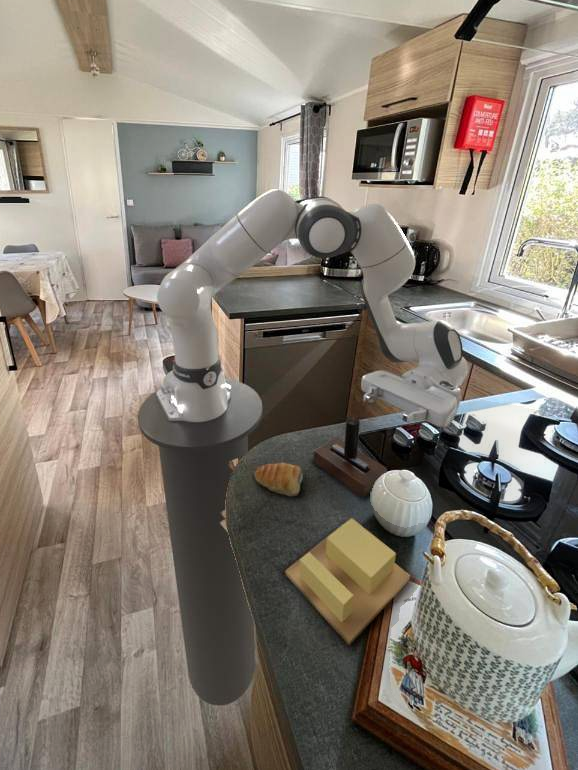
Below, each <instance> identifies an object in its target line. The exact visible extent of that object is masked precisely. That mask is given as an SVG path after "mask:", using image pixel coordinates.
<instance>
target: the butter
mask: <svg viewBox="0 0 578 770" xmlns="http://www.w3.org/2000/svg"><path fill="white" fill-rule="evenodd" d="M344 523H345V524H344ZM344 523H343V524H344V525H342V524H341V525H342V526H341V525H340V526H341V527H340V526H339V527H340V528H339V527H338V528H339V529H338V528H336V529H337V530H336V529H335V530H336V531H335V530H334V531H335V532H334V531H333V532H334V533H333V532H332V533H333V534H331V533H330V534H331V535H330V534H329V535H330V536H329V535H328V536H329V537H328V536H327V537H328V538H327V545H326V555H327V556H328V557H329V558H330V559H331V560H332V561H334V562H335V563H336V564H337V565H338V566H339V567H340V568H341V569H342V570H343V571H344V572H345V573H346V574H347V575H348V576H349V577H350V578H352V579H353V580H354V581H355V582H356V583H357V584H358V585H359V586H360V587H361V588H362V589H363V590H364V591H365V592H366V593H367V594H368V595H370V594H371V593H372V592H373V591H374V590H375V589H376V588H377V587H378V585H379V584H380V583H381V582H382V581H383V580H384V579H385V578H386V577H387V576H388V575H389V574H390V573H391V572H392V571H393V570H394V564H395V562H396V556H397V552H395V551H394V550H393V549H392V548H390V547H389V546H388V545H386V544H385V543H384V542H382V541H381V540H380V539H379V538H377V536H375V535H374V534H373V533H372V532H370V531H369V530H368V529H366V528H365V527H363V526H362V525H361V524H360V523H358V521H356V520H355V519H354V518H352V517H351V518H349V520H347V521H346V522H344Z"/></svg>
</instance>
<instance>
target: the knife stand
mask: <svg viewBox="0 0 578 770" xmlns="http://www.w3.org/2000/svg"><path fill="white" fill-rule="evenodd" d="M335 444H337V445H339V446H340V447H342V448H343V449H344V445H345V440H343V439H341V438H340V437H338V436H336V437H334V438H333V439H331V440H330V441H328V442H326V443H324V444H323V445H322V446H320V447H318V448H316V449H315V450H314V451H313V463H314V464H315V465H317V466H318V467H319V468H321V469H322V470H324V471H325V472H327V474H329V475H331V476H332V477H333V478H335V479H336V480H338V482H340V483H342V485H344V486H346V487H347V488H348V489H350V490H351V491H353V492H355V494H356V495H358V496H359V497H361V498H362V499H364V498H365V497H366V496H367V495H369V494H370V493H371V492H372V491H373V490H372V488H373V485H374V483H375V481H376V480H377V479H378V478H379V477H380V476H381V475H382V474H384V473H386V472H387V473H388V468H387V467H386V466H385V465H383V464H382V463H379V462H378V461H376V460H375V459H373V458H372V457H370V456H369V455H367V454H365V453H364V452H362V451H360V450H359V449H357V458H359V459H360V460H362V461H364V462H365V463H367V464H368V465H369V466H368V472H367V473H364V472H363V471H361V470H360V469H358V468H357V467H355V466H354V465H352V464H351V463H349V462H348V461H346V460H344V459H343V458H341V457H340V456H338V455H337V454H335V453H334V452H333V446H334V445H335ZM387 473H386V474H387Z"/></svg>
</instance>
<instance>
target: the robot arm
mask: <svg viewBox="0 0 578 770" xmlns="http://www.w3.org/2000/svg"><path fill="white" fill-rule="evenodd" d="M290 240H298V241H299V244H300V246H301V248H302V249H303V250H304V251H305V252H306V253H307V254H308V255H310V256H311V257H314V258H317V259H331V258H333V257H336V256H340V255H343V254H346V253H351V254H352V256H353V257H354V258H355V261H356V263H357V264H358V266H359V268H360V270H361V272H362V275H363V278H362V279H361V283H360V292H361V297H362V300H363V302H364V305H365V307H366V310H367V312H368V315H369V318H370V320H371V322H372V324H373V328H374V330H375V332H376V335H377V340H378V344H379V349H380V351H381V353H382V355H383V356H384V357H385V358H386V359H387V360H388V361H390V362H391V363H394V364H397V363H398V364H399V363H409V362H418V365H417V366H415V367H413V368H411V369H410V370H408V371H406V372H404V373H403V374H402V375H401V376H399V375H397V374H394V373H392V372H389V371H386V370H375V371H372V372H370V373H366V374H364V375H363V376H362V377H361V382H360V384H361V385H360V386H361V387H360V389H361V391H362V392H363V393H364V394H363V398H362V399H363V402H364V403H367V404H370V405H371V404H372V403H373V402H374V399H375V398H377V399H379V400H381V401H382V402H385V403H387V404H389V405H391V406H393V407H396V408H398V409H400V410H401V411H404V413H403V414H402V421H404V422H405V423H407V424H411V423H413V422H424V421H425V422H428V423H429V424H432V425H434V426H435V427H438V428H446V427H448V426H449V425H450V424H452V422H453V421H454V419H455V417H456V415H457V414H458V411H459V408H460V405H461V404H460V403H461V393H462V391H461V389H460V387H461V386H462V384H463V383H464V382H465V380H466V379H467V376H468V373H469V365H468V362H467V360H466V358H465V357H464V356H463V355H464V352H463V342H462V338H461V336H460V334H459V332H457V330H456V328H455V327H453V326H452V325H451V324H450V323H449V322H447V321H446V320H431V321H422V322H410V323H404V322H400V321H398V320H397V319H396V316H395V313H394V311H393V308H392V305H391V302H390V300H389V295H391V294H392V293H394V292H396V291H398V290H399V289H401V288H402V287H403V286H404V285H405V284H406V283H407V282H408V281H409V279H410V278H411V277H412V275H413V273H414V271H415V267H416V256H415V253H414V251H413V248H412V247H411V245H410V243H409V241H408V239H407V237H406V236H405V234H404V232H403V230H402V229H401V227H400V226H399V224H398V222H397V221H396V220H395V218H394V217H393V216H392V215H391V213H390V212H389V211H388V210H387V209H386V208H385V207H384V206H383V205H381V204H377V203H369V204H365V205H362V206H360V207H358V208H356V209H355V210H351V211H347V210H345V209H344V208H343V207H342V206H341V205H340V204H339V203H338V202H337V201H335V200H333V199H331V198H329V197H326V196H311V197H308V198H303V199H298V200H295V199H294V198H293V197H292V196H291V195H290V194H288V193H287V192H286V191H284V190H281V189H276V188H274V189H271V190H268V191H267V192H265V193H263V194H262V195H260V196H259V197H257V198H255V199H254V200H253V201H251V202H250V203H248V204H247V205H246V206H244V208H242V209H241V210H240V211H238V212H237V213H236V214H235V215H234V216H233V217H231V219H229V220H228V222H226V223H225V224H224V225H223V226H221V227H220V229H218V230H217V231H216V232H215V233H214V234H213V235H211V236H210V238H208V240H207V241H205V242H204V243H203V244H202V245H201V246H200V247H199V248H198V249H197V250H196V251H195V252H193V253H192V254H191V255H190V256H188V258H187V259H186V260H185V261H183V262H182V263H181V264H180V265H179V266H177V267H175V268H174V269H173V270H172V271H170V272H168V273H167V274H166V275H165V276H164V278H163V279H162V281H161V283H160V285H159V287H158V289H157V293H156V300H157V304H158V307H159V309H160V310H161V311H162V313H163V314H164V315H165V317H166V319H167V322H168V325H169V328H170V331H171V335H172V344H173V350H174V351H173V354H174V357H172V358H171V359H172V363H173V365H172V370H170V371H168V372H166V373H165V375H164V377H163V383H162V384H163V385H161V387H160V388H159V389H157V390H158V391H157V390H156V391H157V392H156V391H155V392H156V396H157V398H158V400H159V402H160V404H161V406H162V408H163V410H164V412H165V413H166V415H167V417H168V419H169V420H170V421H188V422H205V421H209V420H213V419H215V418H217V417H219V416H221V415H222V414H223V413H224V412H225V411H226V409H227V407H228V400H229V399H230V397H231V395H230V392H228V391H227V389H226V387H228V388H231V386H230V385H228V384H226V382H225V378H226V375H225V372H224V371H223V370H222V360H221V357H220V355H219V341H218V340H219V339H218V329H217V327H216V325H215V323H214V318H213V313H212V308H211V307H212V305H211V303H212V298H213V297H214V296H215V295H216V294H218V293H219V292H220V291H222V289H224V288H225V287H226V286H228V285H229V284H231V283H232V282H234V280H237V279H238V278H239V277H241V276H243V275H244V274H246V272H248V271H249V270H250V269H251V268H253V267H254V266H255V265H256V264H257V263H259V262H260V261H261V260H262V259H263V258H265V257H266V256H267V255H269V253H271V252H272V251H273V250H274V249H275V248H276V247H277V246H278V245H280V244H282V243H283V242H286V241H290Z"/></svg>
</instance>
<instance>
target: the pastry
mask: <svg viewBox="0 0 578 770" xmlns="http://www.w3.org/2000/svg"><path fill="white" fill-rule="evenodd" d="M253 476H254V478H255V480H256V482H257V483H258V484H259V485H260V486H263V488H266V489H268V490H269V491H271V492H274V493H276V494H280V495H285V496H287V497H296V496H298V495H299V493H300V490H301V483H302V481H303V479H304V474H303V469H302V467H301V466H300V465H294V464H291V463H287V462H283V461H281V462H276V463H266V464H261V465H259V466H258V467H257V469H256V470H255V471H254V473H253Z"/></svg>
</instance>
